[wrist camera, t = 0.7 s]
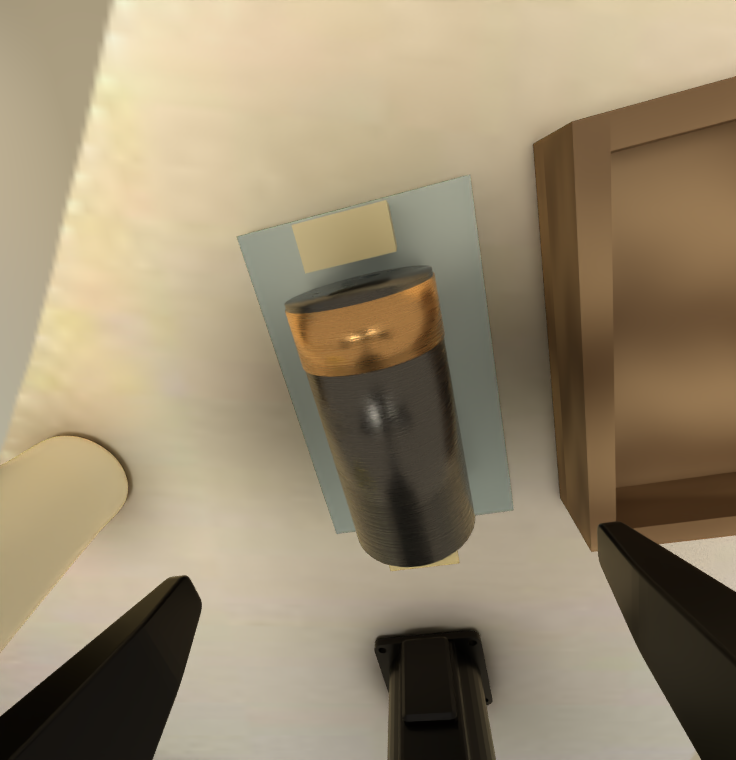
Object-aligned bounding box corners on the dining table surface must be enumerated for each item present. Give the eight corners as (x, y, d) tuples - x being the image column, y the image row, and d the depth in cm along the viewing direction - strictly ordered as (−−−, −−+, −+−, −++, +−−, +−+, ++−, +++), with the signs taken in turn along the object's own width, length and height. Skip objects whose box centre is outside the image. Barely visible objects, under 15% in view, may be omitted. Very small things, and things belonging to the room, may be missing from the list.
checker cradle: (508, 496, 20) (532, 559, 16) (339, 520, 21) (326, 582, 18) (465, 177, 15) (487, 163, 11) (245, 235, 16) (200, 240, 13)
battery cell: (465, 473, 19) (488, 559, 14) (361, 489, 19) (349, 575, 15) (428, 258, 15) (441, 278, 10) (302, 289, 16) (261, 319, 11)
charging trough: (760, 470, 18) (837, 524, 15) (560, 497, 20) (591, 551, 17) (817, 66, 13) (957, 15, 10) (533, 143, 14) (572, 121, 11)
